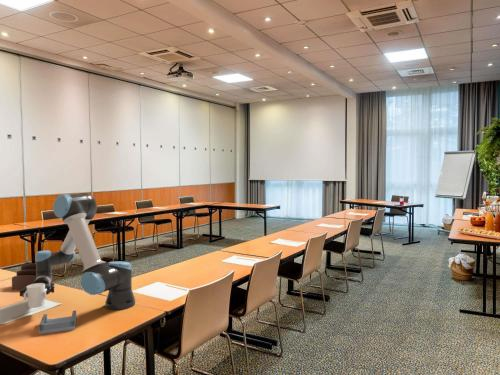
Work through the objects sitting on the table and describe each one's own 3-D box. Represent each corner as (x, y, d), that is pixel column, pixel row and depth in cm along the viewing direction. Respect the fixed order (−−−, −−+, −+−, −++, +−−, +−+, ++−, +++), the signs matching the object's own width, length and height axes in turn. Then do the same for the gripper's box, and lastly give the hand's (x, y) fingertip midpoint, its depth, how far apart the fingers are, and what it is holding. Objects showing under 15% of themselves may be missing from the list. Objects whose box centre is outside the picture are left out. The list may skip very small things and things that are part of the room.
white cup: (28, 304, 187) (28, 284, 187) (46, 302, 190) (46, 282, 189) (25, 309, 180) (24, 288, 179) (44, 307, 182) (43, 286, 182)
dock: (43, 322, 180) (43, 314, 179) (76, 318, 185) (76, 310, 184) (39, 334, 166) (39, 325, 166) (74, 329, 172) (74, 320, 171)
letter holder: (22, 284, 243) (21, 262, 242) (52, 285, 241) (51, 263, 241) (11, 289, 233) (10, 266, 232) (43, 290, 232) (42, 267, 231)
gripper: (63, 288, 205) (58, 301, 184) (19, 293, 198) (9, 307, 176) (62, 274, 205) (58, 285, 184) (19, 279, 197) (9, 291, 176)
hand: (34, 296), depth 180 cm, fingers closed on white cup, 8 cm apart
